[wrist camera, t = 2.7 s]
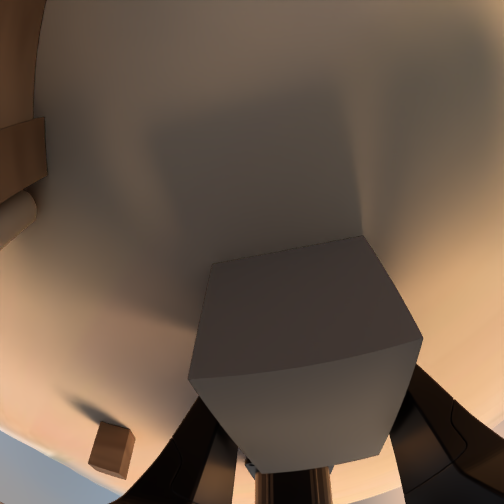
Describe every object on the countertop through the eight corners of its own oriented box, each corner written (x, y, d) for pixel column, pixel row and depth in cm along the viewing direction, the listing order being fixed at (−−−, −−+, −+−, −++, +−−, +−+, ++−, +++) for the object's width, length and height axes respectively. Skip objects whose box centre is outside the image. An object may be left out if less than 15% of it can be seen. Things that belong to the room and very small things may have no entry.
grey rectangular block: (359, 375, 11) (378, 454, 8) (261, 392, 12) (261, 473, 8) (363, 235, 8) (423, 337, 4) (212, 263, 8) (187, 379, 5)
